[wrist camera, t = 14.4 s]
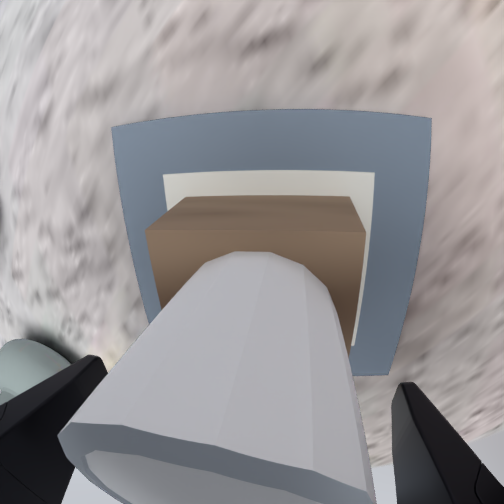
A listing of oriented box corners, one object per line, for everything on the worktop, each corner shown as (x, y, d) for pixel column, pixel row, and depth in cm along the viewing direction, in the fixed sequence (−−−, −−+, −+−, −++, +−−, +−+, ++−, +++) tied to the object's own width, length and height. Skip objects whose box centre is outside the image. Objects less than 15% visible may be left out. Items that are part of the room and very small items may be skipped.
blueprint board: (426, 117, 11) (432, 118, 10) (386, 368, 17) (388, 376, 16) (117, 125, 13) (110, 127, 13) (163, 355, 19) (159, 362, 19)
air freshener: (21, 309, 21) (-53, 383, 12) (98, 357, 21) (30, 456, 12) (36, 381, 26) (-11, 444, 17) (99, 420, 26) (58, 494, 17)
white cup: (130, 292, 11) (21, 435, 5) (281, 187, 9) (219, 386, 3) (240, 403, 13) (203, 544, 7) (385, 345, 11) (414, 526, 4)
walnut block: (337, 331, 16) (341, 391, 12) (204, 325, 17) (180, 378, 13) (349, 196, 13) (366, 232, 9) (185, 196, 14) (144, 230, 10)
